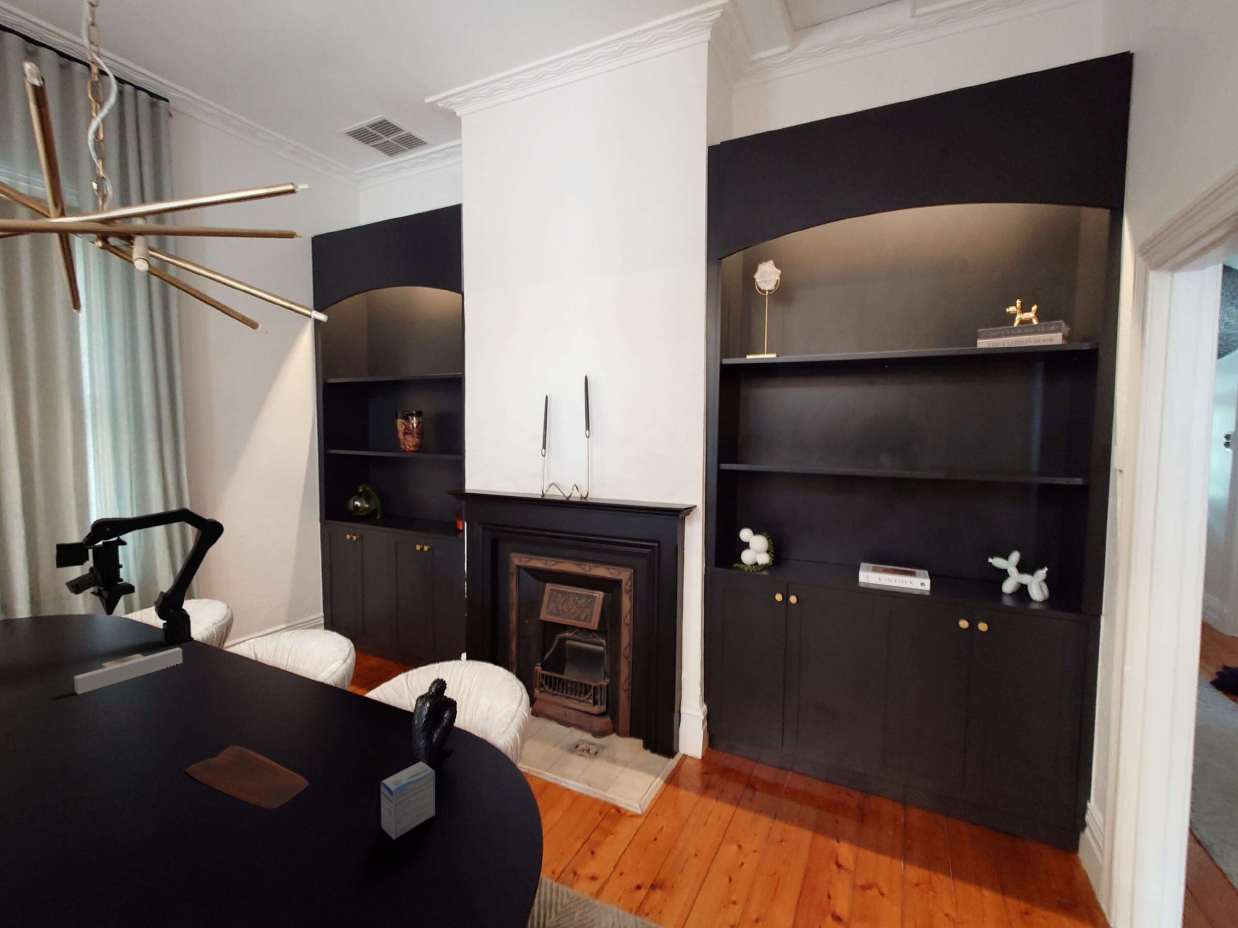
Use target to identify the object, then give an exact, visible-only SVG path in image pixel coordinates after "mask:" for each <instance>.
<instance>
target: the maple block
mask: <svg viewBox="0 0 1238 928" xmlns="http://www.w3.org/2000/svg"><path fill="white" fill-rule="evenodd" d="M142 657H145V656H144V655H142V654H141V653H136V654H133V655H129V656H126V657H122V658H119V659H115V660H112V661H108V662H104V663H101V669H103V668H106V667H110V666H114V665H117V664H121V663H124V662H128V661H132V660H135V659H139V658H142Z"/></svg>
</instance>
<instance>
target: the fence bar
mask: <svg viewBox="0 0 1238 928" xmlns="http://www.w3.org/2000/svg"><path fill="white" fill-rule="evenodd" d="M180 663H181V664H183V649H182V648H180V647H176V648H172V649H171V648H170V649H168V650H165V651H161V652H157V653H153V654H150V655H145V656H144V657H142V658H139V659H135V660H132V661H128V662H124V663H121V664H117V665H114V666H110V667H106V668H103V669H102V668H99V669H95V670H92V671H88V672H86V673H81V674H78V675H74V676H73V680H74V692H75V693H76V694H77V695H81V694H84V693H88V692H90V691H91V692H92V691H94V690H98V689H100V688H104V687H107V686H111V685H114V684H117V683H118V684H119V683H120V682H124V681H127V680H131V679H134V678H137V677H141V676H144V675H147V674H151V673H154V672H157V671H160V670H164V669H168V668H170V666H171V667H174V666H177V665H176V664H178V665H181V664H180ZM173 665H174V666H173ZM167 667H168V668H167Z"/></svg>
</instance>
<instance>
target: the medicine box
mask: <svg viewBox="0 0 1238 928" xmlns="http://www.w3.org/2000/svg"><path fill="white" fill-rule="evenodd" d="M435 777H436V773H435V770H434V769H432V768H431V767H430V766H429V765H427V764H426V763H424V762H423V761H419V762H416V763H415V764H413V765H411V766H409V767H407V768H404V769H403V770H401V771H399V772H397V773H395V774H394V775H391V776H389V777H387V778H386V779H383V780H382V781H380V804H381V805H380V806H381V807H380V810H381V812H380V813H381V814H380V815H381V817H380V819H381V828H382V829H383V831H385V833H387V835H388V836H389V837H390V838H391V839H392V840H396V839H398V838H399V837H401V836H402V835H405V833H407V832H409V831H410V830H412V829H414V828H415V827H417V826H419V825H420V824H422V823H424V822H425V821H427V820H429V819H430V818H432V817H434V816H436V813H435V812H436V807H435V806H436V805H435V803H436V802H435V801H436V800H435V799H436V796H435V795H436V787H435V786H436V778H435Z"/></svg>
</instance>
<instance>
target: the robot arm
mask: <svg viewBox="0 0 1238 928" xmlns="http://www.w3.org/2000/svg"><path fill="white" fill-rule="evenodd" d="M181 522H182V523H185V524H187V525H189V526H191V527H193V528H195V529H197V530H196V532H195V537H194V542H193V545H192V547H191V549H190V551H189V553H188V554H187V556H186V559H185V560H184V562H183V564H182V566H181V568H180V570H179V571H178V573H177V575H176V577H175V579H174V580H173V582H172V584H171V586H170V587H169V589H167V590H166V592H165V591H163V590H160V591H159V594H158V597H157V598H156V600H155V601H154V602H153V604H154V605H153V606H154V612H155V613H156V615H157V617H158V619H160V620H162V621H164V622H162V628H161V629H160V643H162V644H163V645H167V646H168V647H170V646H174V645H178V644H182V643H186V642H189V640H190V641H193V640H194V638H195V637H193V636H192V624H191V623H192V622H191V621H192V620H191V616H190V614H189V612H188V611H187V610H186V608H183V607H184V604H185V598H186V593H187V591H188V589H189V588H190V585H191V583H192V582H193V580H194V578H195V576H196V573H197V572H198V570H199V568H200V566H201V564H202V562H203V561H204V559H205V557H206V555H207V553H208V552H209V550H210V549H211V548H212V547H213V546H214V545H215V544H216V543H217V542H218V540H220V538H221V537H222V536H223V533H224V531H225V527H224V525H223V524H222V523H221V522H220V521H218V520H217V519H215V518H211V517H210V518H206V517H205V516H204V517H203V516H202V515H200V514H197V513H196V512H193V511H192V510H191V509H189V508H188V507H180V508H176V509H173V510H166V511H161V512H154V513H150V514H144V515H143V514H142V515H137V516H131V517H129V516H127V517H120V516H119V517H102V518H98V519H96V520H94V521H93V522H92V523H91V524H90V529H89V532H88V533H87V534H86V535H85V536H84V537H83V539H82V541H75V542H69V543H68V542H67V543H66V542H60V543H56V544H55V552H56V554H55V567H56V568H55V569H63V568H64V569H66V568H70V567H71V568H72V567H80V566H85V564H86V563H87V562H90V552H89V550H91V558H92V561H91V562H92V566H89V568H88V572H87V573H85V574H82V575H80V576H78V577H75V578H73V579H70V580H69V581H67V582H65V586H66V587H67V589H68V591H69V592H70V594H73V595H76V596H77V595H80V594H83V593H84V592H86V591H87V590H90V589H92V588H93V591H90V592H89V593H90V594H91V595H93V596H94V597H96V598H98V601H100V604H101V606H102V609H103V611H104V613H105V615H106V616H112V615H113V614H114V612H115V610H116V608H117V607H118V605H119V602H120V601H121V599H122V597H123V596H126V595H132V594H135V593H136V587H135V585H134V584H132V583H129V582H127V581H124V578H123V577H121V569H123V568H124V565H123V564H121V563H120V547H122V546H127V545H128V543H127V540H124V539H122V538H121V537H122V536H124V535H128V534H130V533H133V532H135V531H140V530H144V529H149V528H155V527H161V526H166V525H167V526H168V525H172V524H178V523H181ZM99 543H100V544H99ZM187 639H189V640H187ZM185 641H186V642H185Z"/></svg>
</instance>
